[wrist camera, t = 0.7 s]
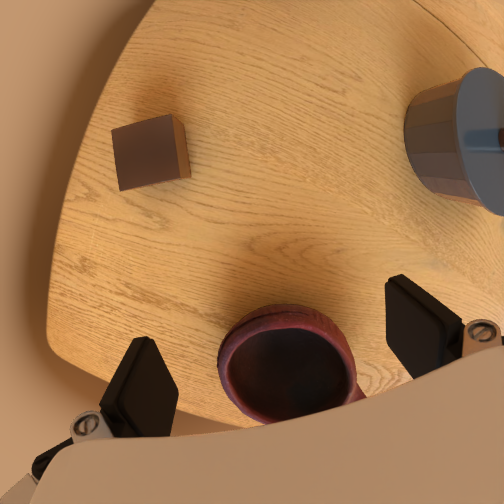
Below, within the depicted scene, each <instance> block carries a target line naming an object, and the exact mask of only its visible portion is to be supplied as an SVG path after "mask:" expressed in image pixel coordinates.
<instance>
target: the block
mask: <svg viewBox="0 0 504 504" xmlns="http://www.w3.org/2000/svg"><path fill="white" fill-rule="evenodd" d="M111 132H112V141H113V149H114V157H115V164H116V171H117V178H118V184H119V190H120V191H126V190H131V189H136V188H141V187H146V186H150V185H155V184H160V183H165V182H170V181H175V180H180V179H185V178H191V171H190V165H189V158H188V151H187V144H186V137H185V129H184V124H183V123H181V122H180V121H179V120H178V119H177V118H176V117H174V116H173V115H172V114H169V115H165V116H161V117H156V118H152V119H148V120H144V121H141V122H137V123H133V124H130V125H126V126H123V127H119V128H116V129H113V130H111Z"/></svg>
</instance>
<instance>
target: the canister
mask: <svg viewBox="0 0 504 504" xmlns="http://www.w3.org/2000/svg"><path fill="white" fill-rule="evenodd" d="M460 79H461V78H459V79H456V80H453V81H450V82H447V83H444V84H441V85H438V86H435V87H432V88H430V89H427V90H425V91H423V92H420V93H419V94H418V95H417V96H416V97H415V98H414V99H413V100H412V102H411V104H410V105H409V107H408V110H407V113H406V117H405V123H404V140H405V146H406V151H407V155H408V158H409V161H410V163H411V166H412V168H413V170H414V172H415V173H416V175H417V177H418V178H419V180H420V181H421V182H422V183H423V184H424V185H425V187H426V188H427V189H429V190H430V191H431V192H433V193H434V194H436V195H438V196H441V197H444V198H446V199H449V200H453V201H458V202H463V203H467V204H472V205H476V206H480V207H483V206H482V205H481V204H480V203H479V202H478V201H477V199H476V198H475V197H474V195H473V193H472V192H471V190H470V188H469V186H468V184H467V182H466V180H465V178H464V175H463V172H462V170H461V166H460V163H459V160H458V156H457V152H456V147H455V141H454V135H453V125H452V108H453V99H454V94H455V90H456V87H457V85H458V82H459V80H460Z"/></svg>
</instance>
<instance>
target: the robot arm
mask: <svg viewBox="0 0 504 504" xmlns="http://www.w3.org/2000/svg"><path fill="white" fill-rule="evenodd" d="M385 304H386V341H387V344H388V346H389V347H390V349H391V350H392V351H393V353H394V354H395V355H396V357H397V358H398V359H399V361H400V362H401V363H402V365H403V366H404V367H405V369H406V370H407V371H408V373H409V374H410V375H411V377H412V378H413V379H414V380H411V381H409V382H407V383H404V384H402V385H399V386H397V387H394V388H392V389H389V390H387V391H384V392H381V393H379V394H376V395H373V396H370V397H367V398H364V399H361V400H358V401H355V402H352V403H349V404H346V405H343V406H340V407H336V408H333V409H329V410H326V411H322V412H319V413H315V414H311V415H307V416H303V417H299V418H295V419H290V420H286V421H281V422H277V423H272V424H267V425H261V426H256V427H250V428H244V429H238V430H231V431H224V432H216V433H207V434H197V435H185V436H170V433H171V428H172V423H173V418H174V414H175V409H176V405H177V401H178V396H179V392H178V388H177V386H176V384H175V382H174V380H173V378H172V376H171V374H170V372H169V370H168V368H167V366H166V364H165V362H164V360H163V358H162V356H161V354H160V352H159V350H158V348H157V345H156V343H155V341H154V340H153V339H150V338H149V337H148V336H144V337H138V338H134V339H133V340H132V342H131V344H130V346H129V348H128V350H127V351H126V353H125V355H124V357H123V359H122V361H121V363H120V364H119V366H118V368H117V370H116V372H115V374H114V376H113V378H112V380H111V382H110V384H109V386H108V387H107V389H106V391H105V393H104V395H103V397H102V400H101V401H100V403H99V405H100V407H101V410H100V412H97V411H86V412H84V413H82V414H80V415H79V416H77V417H76V418H75V419H74V420H73V422H72V423H71V426H70V433H71V436H72V437H71V438H69V439H67V440H66V441H64V442H62V443H60V444H59V445H57V446H55V447H53V448H52V449H50V450H48V451H46V452H44V453H43V454H41V455H39V456H37V457H36V459H35V460H34V462H33V464H32V475H30V474H29V473H28V474H27V475H25V476H24V478H22V479H21V480H20V481H19V482H18V483H17V484H16V485H14V486H13V487H12V488H11V489H10V490H9V491H8V492H6V493H5V494H4V495H3V496H2V498H1V499H0V504H504V336H501V331H500V328H499V327H498V325H497V324H495V323H494V322H492V321H490V320H485V319H477V320H473V321H471V322H469V323H468V324H467V325H466V326H465V325H464V324H463V323H462V319H461V318H460V317H459V316H458V315H456V314H455V313H454V312H452V311H451V310H450V309H449V308H447V307H446V306H445V305H443V304H442V303H441V302H440V301H438V300H437V299H436V298H434V297H433V296H432V295H430V294H429V293H428V292H426V291H425V290H424V289H422V288H421V287H420V286H418V285H417V284H415V283H414V282H413V281H411V280H410V279H409V278H407V277H406V276H404V275H403V274H400V275H397V276H394V277H390V278H389V279H388V282H386V283H385Z"/></svg>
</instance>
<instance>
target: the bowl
mask: <svg viewBox="0 0 504 504" xmlns="http://www.w3.org/2000/svg"><path fill="white" fill-rule="evenodd" d="M217 368H218V373H219V377H220V380H221V384H222V386H223V389H224V391H225V392H226V394H227V396H228V398H229V399H230V400H231V401H232V402H233V403H234V404H235V405H236V406H237V407H238V408H239V409H240V410H241V411H242V413H244V414H245V415H247V416H249V417H250V418H252V419H254V420H256V421H258V422H260V423H263V424H265V425H267V424H272V423H277V422H281V421H286V420H290V419H295V418H299V417H303V416H307V415H311V414H315V413H319V412H322V411H326V410H329V409H333V408H336V407H340V406H343V405H346V404H349V403H352V402H355V401H358V400H361V399H364V398H367V397H366V396H365V394H364V393H363V392H362V390H361V389H360V387H359V385H358V384H357V378H356V377H357V373H356V366H355V361H354V357H353V355H352V352H351V350H350V347H349V345H348V342H347V340H346V338H345V336H344V334H343V333H342V332H341V330H340V329H339V328H338V327H337V326H336V325H335V324H334V323H333V321H332V320H331V319H330V318H328V317H327V316H325V315H324V314H322V313H320V312H318V311H316V310H314V309H311V308H308V307H304V306H300V305H294V304H274V305H269V306H265V307H262V308H259V309H257V310H255V311H252V312H251V313H249V314H248V315H246V316H245V317H244V318H243V319H241V320H240V321H239V322H238V323H236V324H235V325H234V326H233V327H232V328H231V329H230V331H229V332H228V333H227V334H226V336H225V338H224V339H223V340H222V343H221V345H220V348H219V351H218V357H217Z"/></svg>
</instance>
